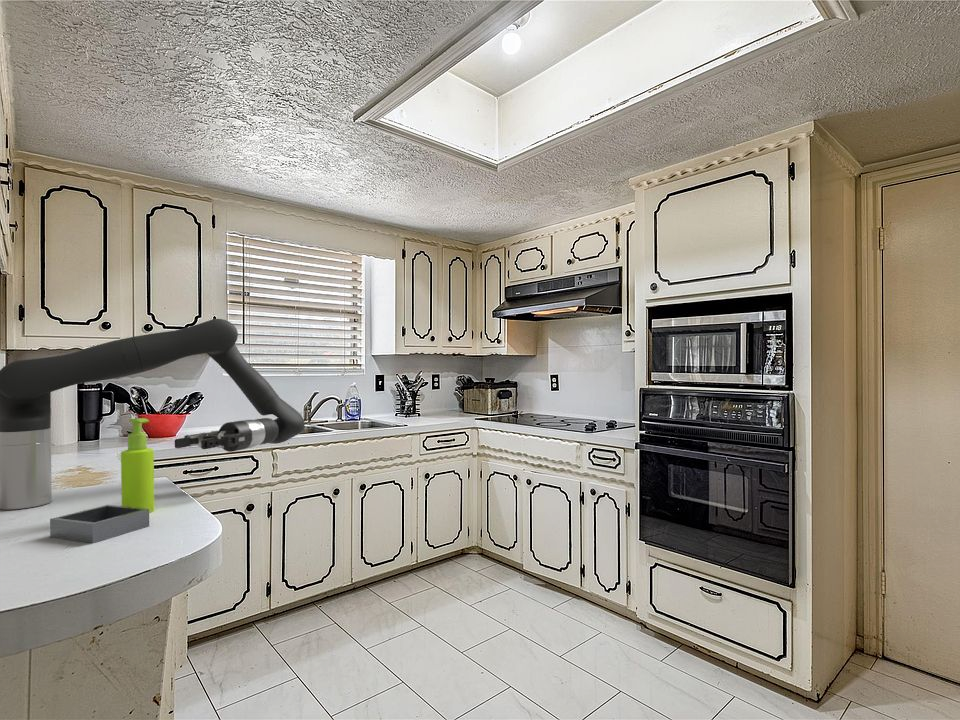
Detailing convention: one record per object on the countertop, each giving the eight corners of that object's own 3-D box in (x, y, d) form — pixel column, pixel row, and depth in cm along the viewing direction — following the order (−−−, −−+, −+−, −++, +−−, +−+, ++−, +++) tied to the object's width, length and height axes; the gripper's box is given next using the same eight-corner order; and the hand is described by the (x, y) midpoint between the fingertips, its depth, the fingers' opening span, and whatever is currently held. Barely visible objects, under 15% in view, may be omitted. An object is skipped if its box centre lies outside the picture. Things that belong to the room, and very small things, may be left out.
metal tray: (50, 537, 99) (50, 518, 99) (108, 521, 109) (108, 504, 109) (92, 543, 95) (92, 524, 95) (149, 526, 105) (149, 508, 105)
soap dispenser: (130, 518, 111) (129, 420, 111) (117, 513, 115) (115, 418, 115) (161, 511, 115) (159, 417, 116) (147, 507, 120) (146, 416, 120)
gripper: (221, 420, 144) (166, 428, 129) (263, 420, 139) (211, 428, 124) (222, 448, 144) (167, 459, 129) (264, 449, 139) (212, 461, 124)
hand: (188, 444), depth 127 cm, fingers open, 8 cm apart
